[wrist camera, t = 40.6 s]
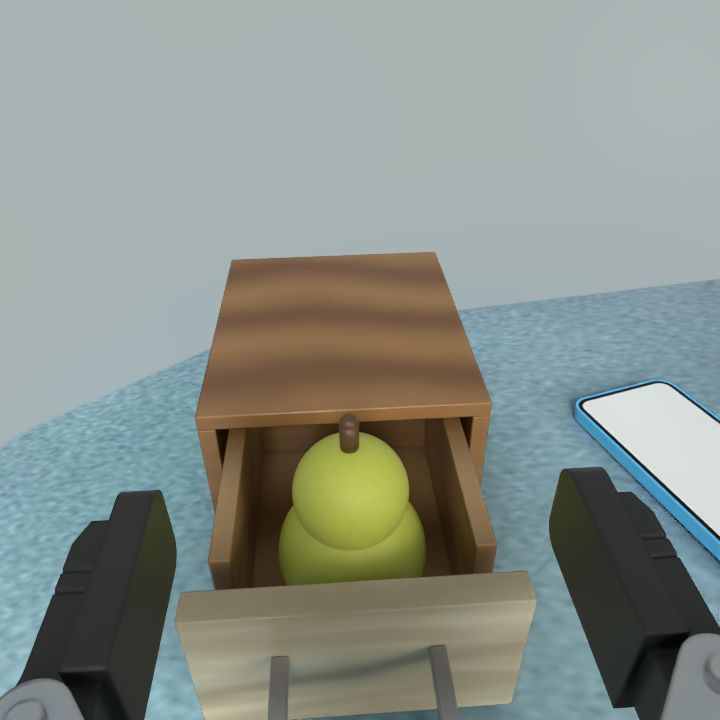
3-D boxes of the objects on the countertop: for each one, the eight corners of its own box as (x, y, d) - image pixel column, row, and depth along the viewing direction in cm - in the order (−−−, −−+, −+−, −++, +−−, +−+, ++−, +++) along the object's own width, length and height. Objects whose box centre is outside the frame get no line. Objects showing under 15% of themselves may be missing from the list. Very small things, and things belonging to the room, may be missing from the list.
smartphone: (664, 376, 42) (886, 543, 30) (659, 390, 43) (875, 559, 31) (568, 401, 40) (767, 589, 28) (565, 415, 41) (758, 605, 29)
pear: (329, 691, 24) (315, 508, 18) (261, 578, 28) (232, 400, 22) (451, 614, 27) (473, 432, 21) (373, 521, 31) (372, 348, 25)
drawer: (545, 834, 21) (584, 739, 17) (187, 863, 21) (144, 772, 17) (446, 449, 36) (455, 353, 33) (240, 460, 36) (224, 364, 32)
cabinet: (474, 531, 33) (492, 402, 28) (221, 546, 32) (194, 417, 27) (428, 360, 46) (435, 251, 41) (246, 368, 45) (231, 259, 40)
